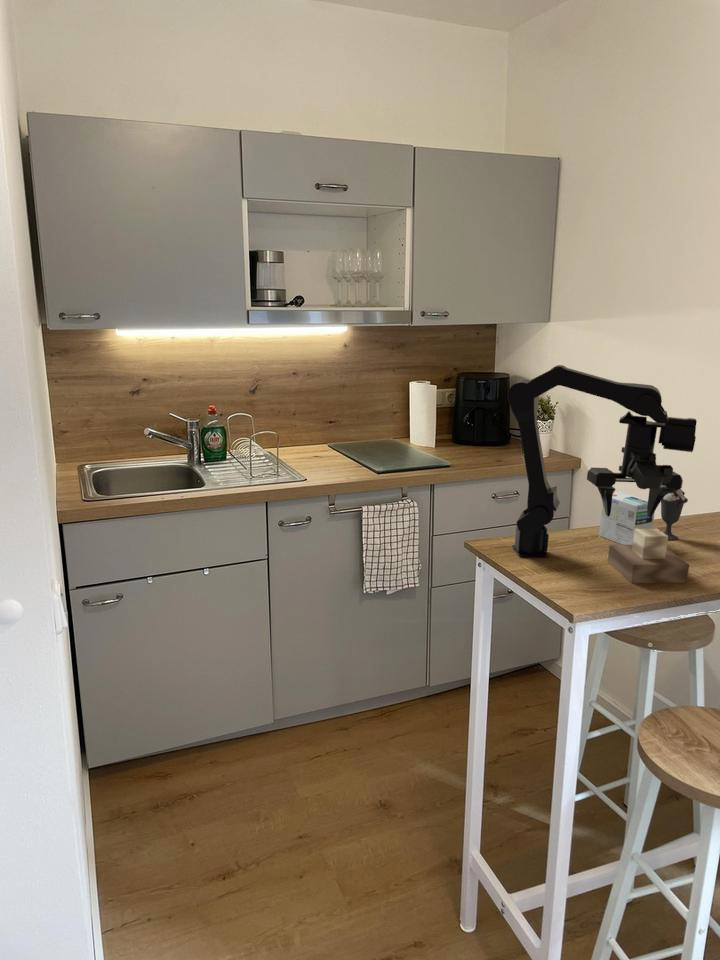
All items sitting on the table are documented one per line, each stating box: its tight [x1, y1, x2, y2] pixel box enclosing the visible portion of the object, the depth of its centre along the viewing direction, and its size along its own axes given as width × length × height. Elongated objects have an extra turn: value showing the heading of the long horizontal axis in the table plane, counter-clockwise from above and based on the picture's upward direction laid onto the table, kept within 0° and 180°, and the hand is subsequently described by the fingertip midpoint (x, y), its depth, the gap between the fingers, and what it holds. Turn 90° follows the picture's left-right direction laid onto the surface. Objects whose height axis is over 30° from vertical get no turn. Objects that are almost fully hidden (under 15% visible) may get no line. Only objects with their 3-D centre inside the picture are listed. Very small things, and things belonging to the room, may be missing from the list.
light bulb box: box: [598, 491, 656, 545], centre depth 175 cm, size 11×7×11 cm, turn 30°
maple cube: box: [632, 528, 669, 559], centre depth 155 cm, size 5×5×5 cm
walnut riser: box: [607, 544, 690, 584], centre depth 156 cm, size 12×12×4 cm
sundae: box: [660, 488, 689, 541], centre depth 177 cm, size 7×7×15 cm
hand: (628, 516), depth 156 cm, fingers open, 9 cm apart
